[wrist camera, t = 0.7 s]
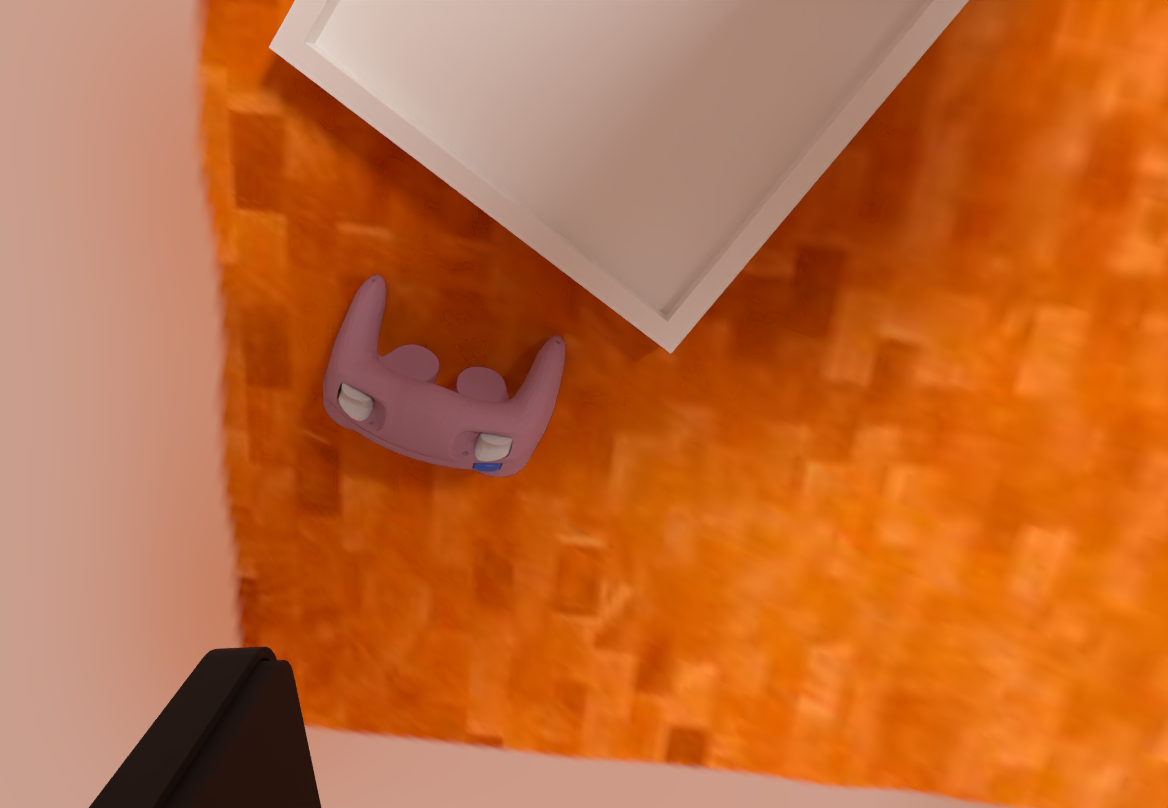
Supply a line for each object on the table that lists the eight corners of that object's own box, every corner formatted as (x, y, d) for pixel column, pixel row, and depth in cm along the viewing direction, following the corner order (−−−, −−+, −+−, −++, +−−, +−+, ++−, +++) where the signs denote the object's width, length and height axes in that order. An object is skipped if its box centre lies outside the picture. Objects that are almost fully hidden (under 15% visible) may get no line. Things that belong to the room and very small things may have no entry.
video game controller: (359, 332, 40) (296, 440, 35) (365, 260, 36) (297, 368, 31) (555, 397, 40) (520, 512, 35) (579, 331, 37) (544, 448, 32)
